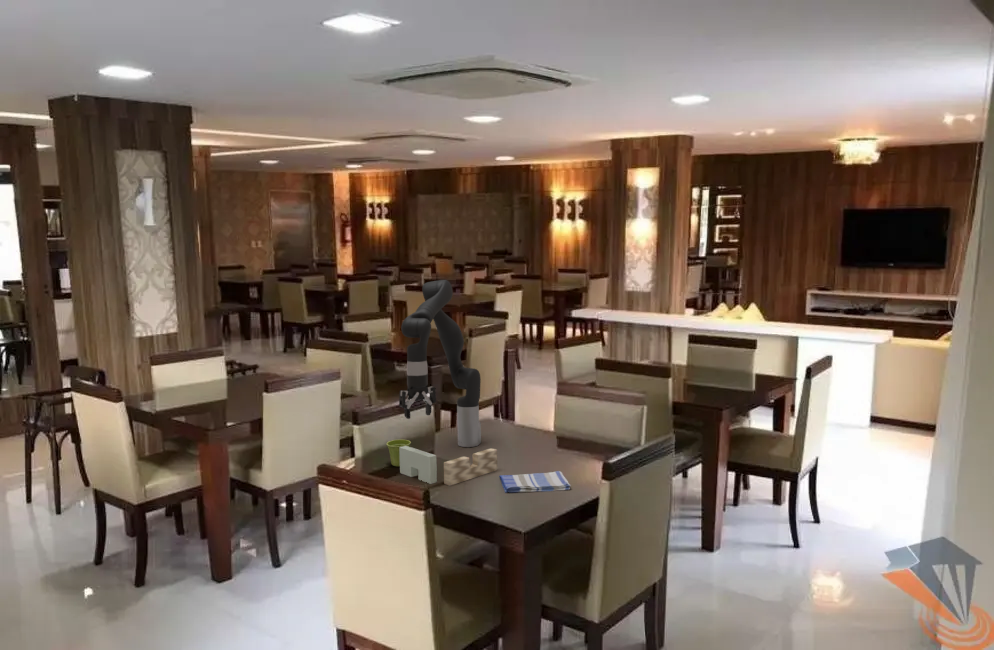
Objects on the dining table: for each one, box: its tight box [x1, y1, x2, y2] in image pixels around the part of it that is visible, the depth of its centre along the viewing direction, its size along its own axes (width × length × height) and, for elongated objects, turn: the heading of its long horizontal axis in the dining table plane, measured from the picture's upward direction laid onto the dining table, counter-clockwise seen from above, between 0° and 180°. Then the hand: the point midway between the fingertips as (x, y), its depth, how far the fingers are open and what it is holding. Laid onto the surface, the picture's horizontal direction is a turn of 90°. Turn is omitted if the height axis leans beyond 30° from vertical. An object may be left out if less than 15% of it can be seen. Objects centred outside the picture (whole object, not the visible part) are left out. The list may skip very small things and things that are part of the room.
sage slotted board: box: [399, 446, 438, 485], centre depth 270 cm, size 3×18×10 cm, turn 45°
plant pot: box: [386, 439, 412, 467], centre depth 287 cm, size 9×9×9 cm
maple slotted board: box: [443, 448, 498, 486], centre depth 270 cm, size 24×3×8 cm, turn 135°
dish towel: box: [498, 470, 572, 494], centre depth 262 cm, size 17×24×3 cm
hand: (418, 416), depth 266 cm, fingers open, 8 cm apart
